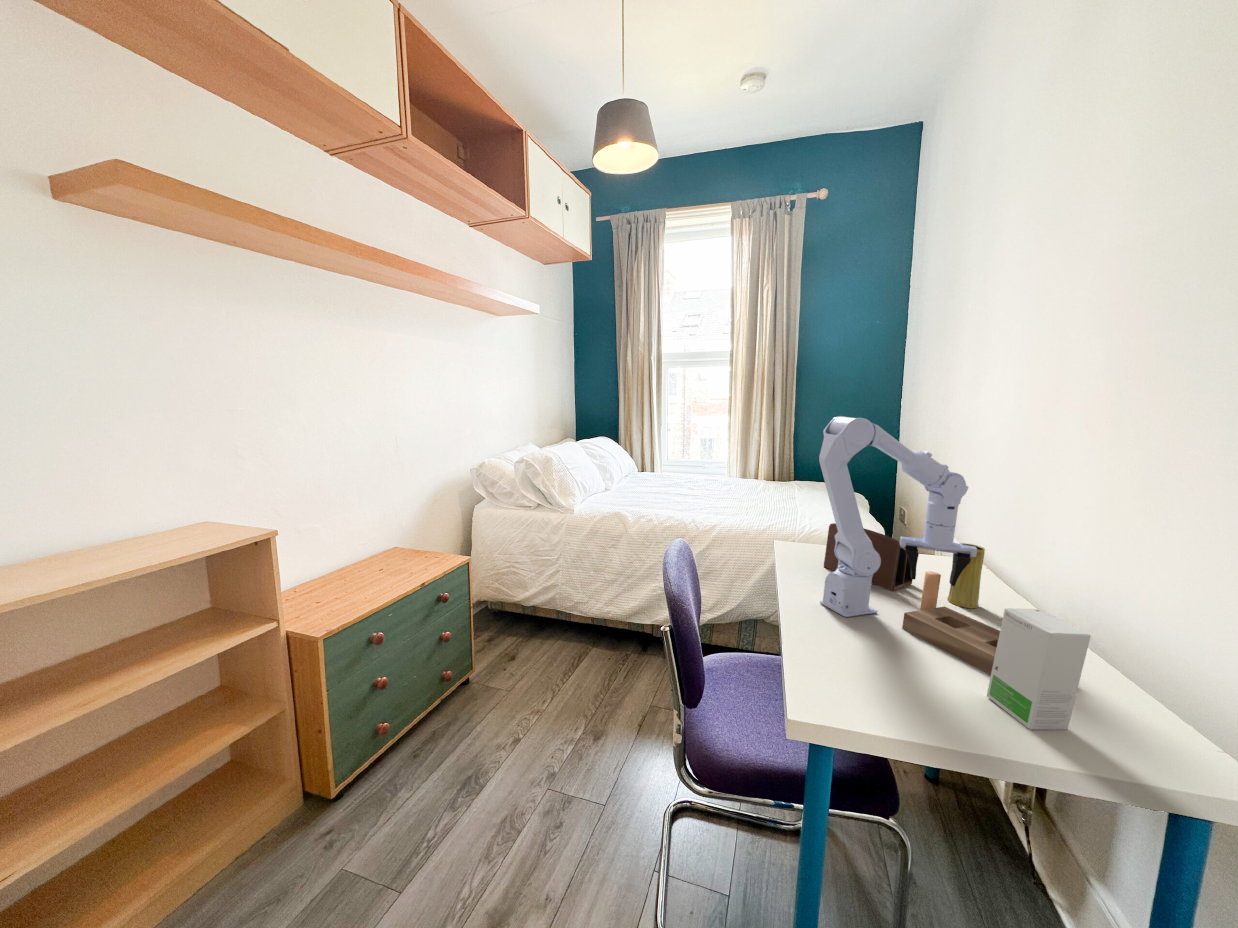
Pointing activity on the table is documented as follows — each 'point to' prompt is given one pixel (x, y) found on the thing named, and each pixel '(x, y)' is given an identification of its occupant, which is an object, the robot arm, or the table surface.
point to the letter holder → (893, 560)
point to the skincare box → (1037, 668)
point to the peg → (930, 590)
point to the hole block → (955, 635)
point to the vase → (968, 582)
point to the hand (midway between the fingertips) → (932, 581)
